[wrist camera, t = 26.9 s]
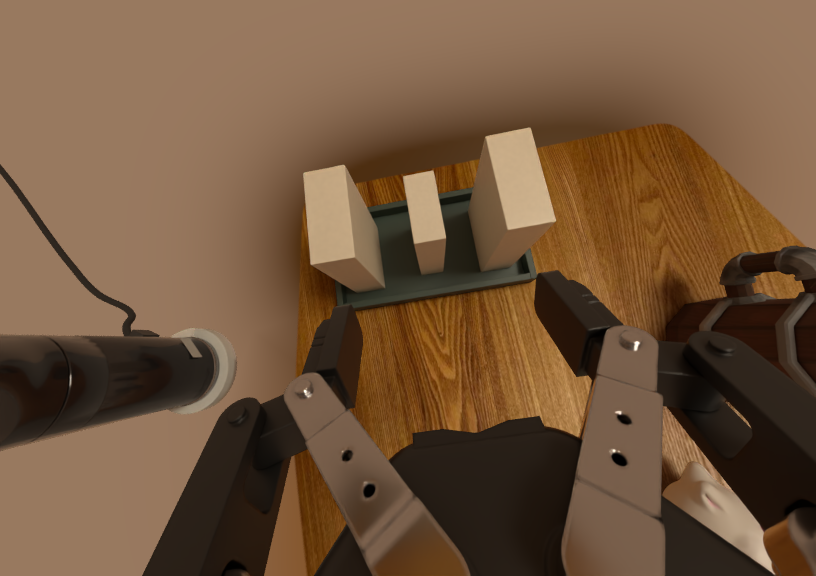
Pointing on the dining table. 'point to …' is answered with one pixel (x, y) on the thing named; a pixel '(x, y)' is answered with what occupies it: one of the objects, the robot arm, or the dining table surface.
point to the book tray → (458, 260)
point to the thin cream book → (426, 221)
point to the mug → (762, 313)
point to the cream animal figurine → (718, 511)
